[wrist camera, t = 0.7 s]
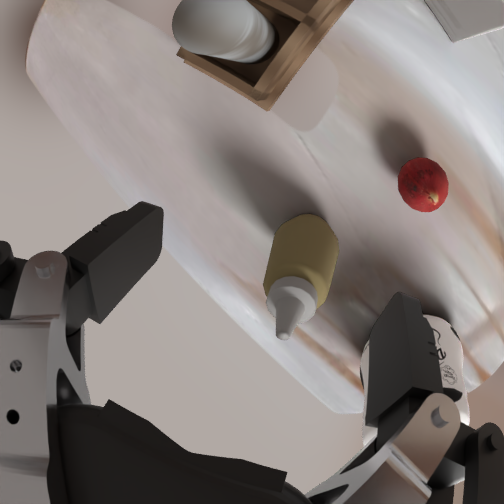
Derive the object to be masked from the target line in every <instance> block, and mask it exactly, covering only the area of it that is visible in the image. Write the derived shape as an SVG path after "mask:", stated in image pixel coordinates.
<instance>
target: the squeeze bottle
mask: <svg viewBox="0 0 504 504" xmlns="http://www.w3.org/2000/svg"><path fill="white" fill-rule="evenodd" d="M338 254H339V246H338V239H337V237H336V236H335V234H334V232H333V231H332V229H331V228H330V226H329V225H328V224H327V222H326V221H324V220H323V219H322V218H320V217H319V216H316V215H312V214H302V215H299V216H297V217H295V218H293V219H291V220H289V221H287V222H285V223H283V224H282V225H281V226H280V228H279V229H278V230H277V232H276V233H275V236H274V240H273V244H272V248H271V253H270V257H269V261H268V265H267V270H266V274H265V278H264V283H263V286H264V290H265V294H266V296H267V301H266V304H267V308H268V311H269V312H270V313H271V314H272V315H273V317H275V318H276V336H277V338H279V339H281V340H288V339H289V338H290V336H291V334H292V333H293V331H294V329H295V328H296V326H297V324H301V323H303V322H306V321H308V320H309V319H311V318H312V317H313V316H314V314H315V311H316V309H318V308H319V307H320V306H321V305H322V304H323V303H324V302H325V300H326V297H327V295H328V292H329V289H330V285H331V281H332V277H333V274H334V270H335V266H336V262H337V258H338Z"/></svg>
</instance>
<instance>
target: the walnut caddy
mask: <svg viewBox="0 0 504 504" xmlns="http://www.w3.org/2000/svg"><path fill="white" fill-rule="evenodd" d="M353 1H354V0H182V2H181V3H180V4H179V6H178V7H177V9H176V11H175V13H174V16H173V22H172V29H173V34H174V37H175V39H176V40H177V42H178V43H179V44H180V45H181V47H180V49H179V51H178V53H177V54H176V55H177V56H179V57H181V58H183V59H185V60H184V63H186V64H188V65H190V66H192V67H194V68H195V69H197V70H199V71H201V72H203V73H205V74H206V75H208V76H210V77H212V78H214V79H215V80H217V81H219V82H220V83H222V84H224V85H226V86H227V87H229V88H231V89H232V90H234V91H236V92H237V93H239V94H241V95H242V96H244V97H245V98H247V99H249V100H250V101H252V102H253V103H255V104H256V105H258V106H260V107H261V108H263V109H264V110H266V111H269V110H270V109H271V108H272V106H273V105H274V104H275V102H276V101H277V99H278V98H279V96H280V95H281V94H282V92H283V91H284V89H285V88H286V87H287V85H288V84H289V82H290V81H291V80H292V78H293V77H294V76H295V74H296V73H297V72H298V70H299V69H300V68H301V66H302V65H303V63H304V62H305V61H306V60H307V58H308V57H309V56H310V54H311V53H312V52H313V50H314V49H315V48H316V46H317V45H318V44H319V43H320V41H321V40H322V39H323V37H324V36H325V35H326V34H327V32H328V31H329V30H330V29H331V27H332V26H333V25H334V24H335V22H336V21H337V20H338V19H339V17H340V16H341V15H342V14H343V13H344V11H345V10H346V9H347V8H348V7H349V5H350V4H351V3H352V2H353Z"/></svg>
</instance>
